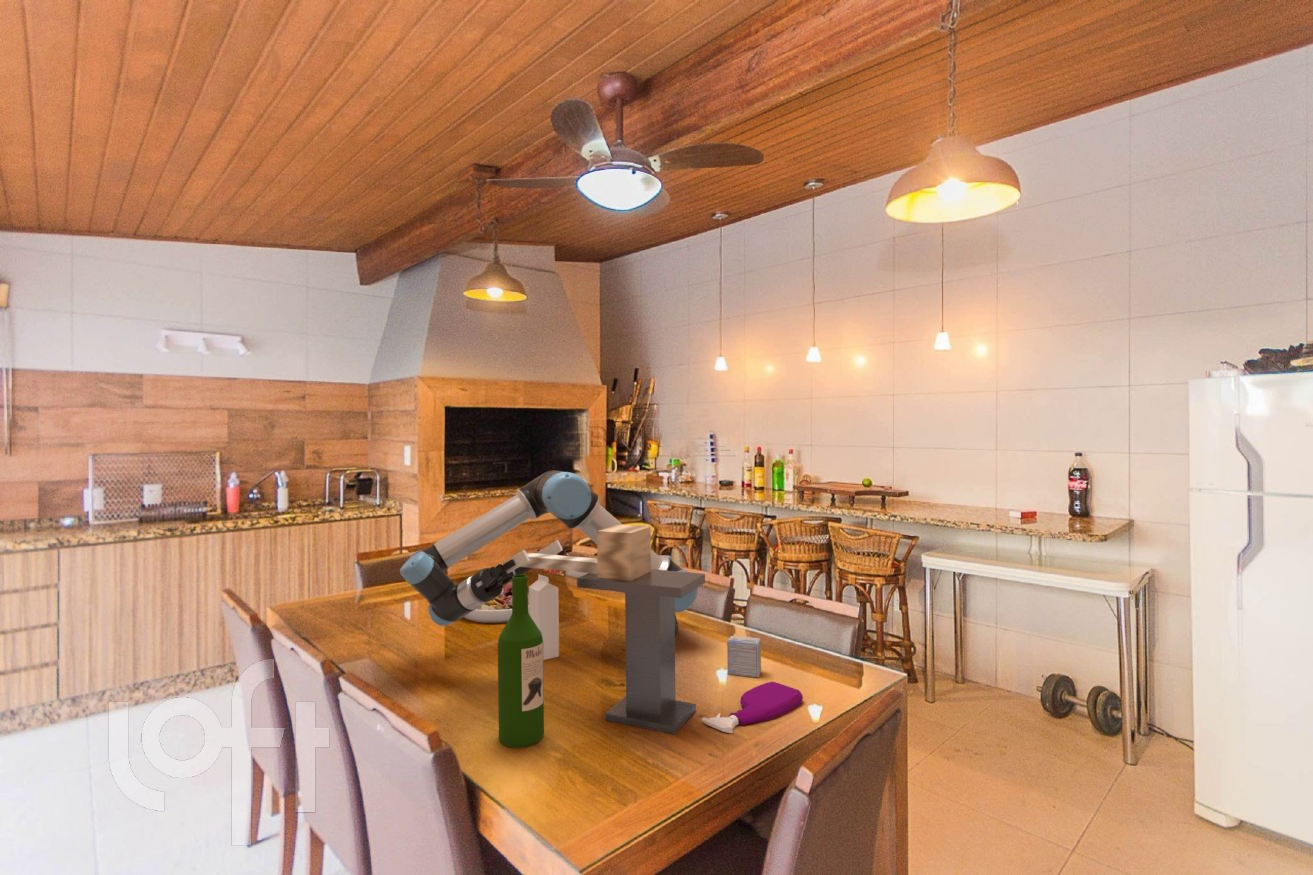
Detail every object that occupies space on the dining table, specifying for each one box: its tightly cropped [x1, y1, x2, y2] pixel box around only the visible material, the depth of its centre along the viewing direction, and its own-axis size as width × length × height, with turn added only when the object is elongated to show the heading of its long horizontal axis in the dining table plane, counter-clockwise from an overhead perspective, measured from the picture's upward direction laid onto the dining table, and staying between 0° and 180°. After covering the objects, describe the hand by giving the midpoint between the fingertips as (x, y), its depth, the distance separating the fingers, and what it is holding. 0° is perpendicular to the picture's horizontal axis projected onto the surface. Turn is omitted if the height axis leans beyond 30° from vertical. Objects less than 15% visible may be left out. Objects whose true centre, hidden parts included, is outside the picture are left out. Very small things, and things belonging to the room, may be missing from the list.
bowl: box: [463, 581, 530, 624], centre depth 221 cm, size 30×30×8 cm
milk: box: [528, 573, 560, 661], centre depth 177 cm, size 6×6×22 cm
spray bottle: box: [701, 681, 804, 734], centre depth 141 cm, size 3×11×24 cm
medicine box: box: [726, 635, 762, 678], centre depth 164 cm, size 8×4×9 cm, turn 71°
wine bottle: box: [497, 574, 545, 749], centre depth 130 cm, size 9×9×32 cm
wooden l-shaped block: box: [520, 524, 652, 581], centre depth 147 cm, size 32×10×10 cm, turn 66°
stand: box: [576, 569, 706, 735], centre depth 141 cm, size 24×14×30 cm, turn 66°
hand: (543, 549), depth 151 cm, fingers open, 13 cm apart
